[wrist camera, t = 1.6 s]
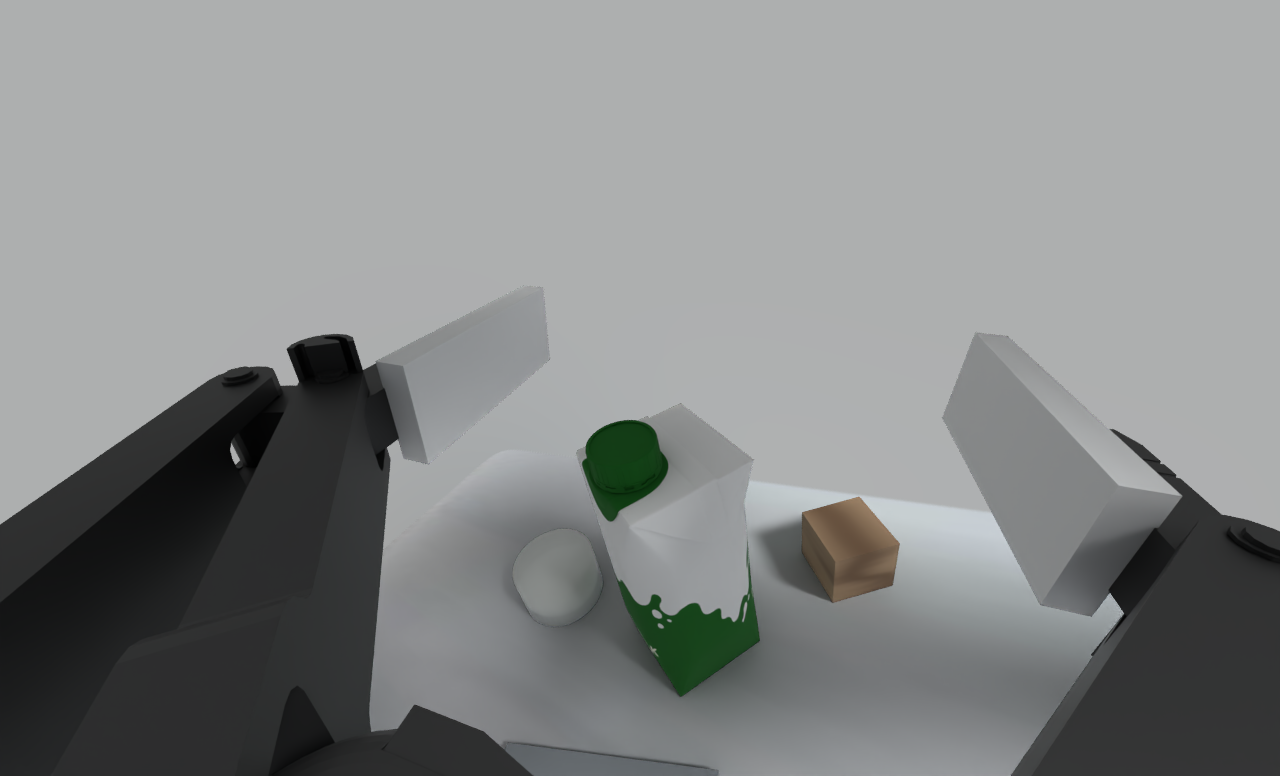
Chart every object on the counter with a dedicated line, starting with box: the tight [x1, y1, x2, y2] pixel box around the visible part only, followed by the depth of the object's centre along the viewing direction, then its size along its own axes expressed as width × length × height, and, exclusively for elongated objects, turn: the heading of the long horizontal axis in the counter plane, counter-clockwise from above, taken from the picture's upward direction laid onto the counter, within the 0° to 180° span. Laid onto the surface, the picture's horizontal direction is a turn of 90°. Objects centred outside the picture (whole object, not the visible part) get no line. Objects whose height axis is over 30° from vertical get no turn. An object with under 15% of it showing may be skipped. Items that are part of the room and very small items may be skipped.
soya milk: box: [576, 403, 760, 697], centre depth 31 cm, size 9×9×20 cm
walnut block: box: [802, 497, 900, 603], centre depth 37 cm, size 5×5×5 cm
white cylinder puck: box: [512, 529, 603, 627], centre depth 40 cm, size 7×7×4 cm
